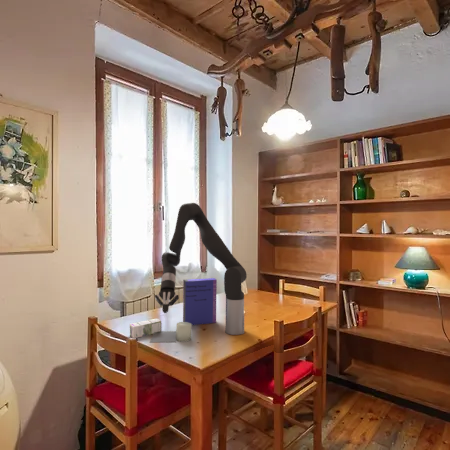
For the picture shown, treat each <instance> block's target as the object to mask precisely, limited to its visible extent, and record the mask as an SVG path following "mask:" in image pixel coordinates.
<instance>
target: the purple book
mask: <svg viewBox="0 0 450 450" xmlns="http://www.w3.org/2000/svg"><path fill="white" fill-rule="evenodd" d="M182 282H183V283H182V285H183V286H182V290H183V292H182V293H183V294H182V296H183V297H182V298H183V299H182V322H188V323H191V324H192V326H198V325H207V324H209V325H210V324H216V323H217V287H218V286H217V285H218V284H217V283H218V282H217V279H216V278H213V277H211V278H192V279H183V281H182Z"/></svg>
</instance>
